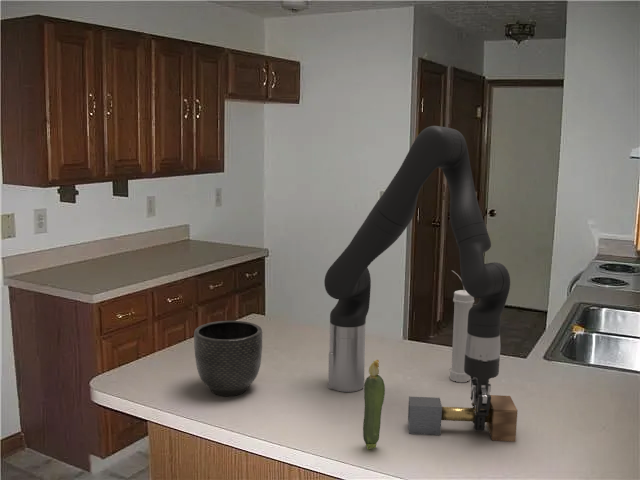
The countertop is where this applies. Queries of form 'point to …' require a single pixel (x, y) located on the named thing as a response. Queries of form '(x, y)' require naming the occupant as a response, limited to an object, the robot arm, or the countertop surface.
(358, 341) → the robot arm
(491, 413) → the tube
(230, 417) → the countertop surface
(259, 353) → the planter
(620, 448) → the countertop surface
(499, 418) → the socket
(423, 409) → the sleeve
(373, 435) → the vegetable
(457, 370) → the pipe
